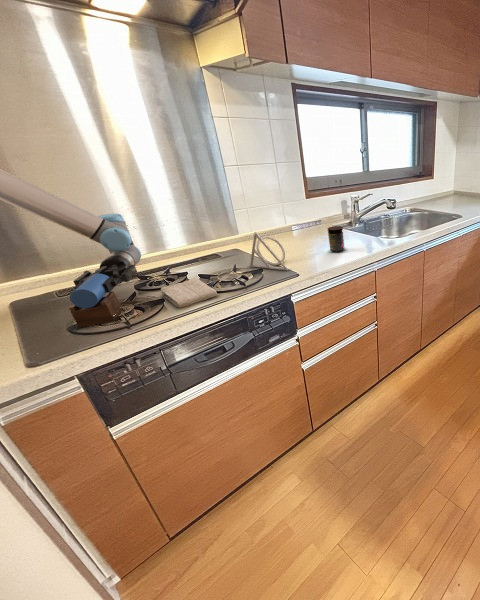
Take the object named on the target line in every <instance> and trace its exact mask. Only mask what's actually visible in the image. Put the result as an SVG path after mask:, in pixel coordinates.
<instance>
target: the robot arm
mask: <svg viewBox="0 0 480 600" xmlns="http://www.w3.org/2000/svg"><path fill="white" fill-rule="evenodd" d="M0 201H2V202H4V203H6V204H8V205H12V206H13V207H15V208H18V209H21V210H23V211H25V212H27V213H29V214H32V215H33V216H37V217H39V218H41V219H43V220H46V221H48V222H50V223H52V224H55V225H57V226H60V227H62V228H64V229H66V230H69V231H71V232H73V233H75V234H78V235H80V236H82V237H85V238H87V239H89V240H91V241H93V242H96V243H98V244H100V245H102V246H103V247H104V248H105V249H106V250H108V252H109V255H108V256H107V257H106V258H104V260H102V261H101V263H99V268H97V269H95V271H90V270H84V271H83V273H82V274H81V275H79V276H78V277H77V278H75V279H74V280H73V281H72V282H73V284H74V286H75V287H74V291H75V290H76V289H77V288H78V287H79V286H80V285H81V284H82V283H84V282H85V281H86V280H87V279H88V278H89V277H90V276H92V275H94V274H104V275H107V276H108V277H109V278H108V279H107V280H106V281H105V282H104V283H103V286H104V288H105V291H106V294H109V292H112V291H113V289H115V287H117V286H118V285H120V284H122V283H123V282H124V283H128V282H130V281H131V279H132V277H133V276H134V275H135V274H137V273H138V270H137V268H136V265H137V264H139V263H140V260H141V258H142V251H141V250H140V248H138V247H137V246H135V244H134V242H133V239H132V236H131V234H130V231H129V228H128V226H127V223H126V221H125V219H124V216H123V215H122V214H121V213H105V214H100V215H96V214H94V213H92V212H90V211H89V210H86V209H84V208H82V207H80V206H78V205H76V204H73V202H69V200H65V199H64V198H61V197H59V196H57V195H55V194H53V193H51V192H50V191H47V190H45V189H43V188H41V187H39V186H37V185H34V184H33V183H30V182H29V181H26V180H25V179H22V178H20V177H18V176H16V175H14V174H12V173H10V172H7V171H6V170H4V169H2V168H0Z"/></svg>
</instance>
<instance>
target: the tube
mask: <svg viewBox="0 0 480 600" xmlns="http://www.w3.org/2000/svg"><path fill="white" fill-rule="evenodd" d="M108 278H109V277H108V276H107V275H104V274H94V275H92V276H90V277H89V278H88V279H87V280H86V281H85V282H84V283H82V284H81V285H80V286H79V287H78V288H77V289H76V290H75V289H74V290H73V291H72V292H71V293H70V295H69V300H70V302H71V303H72V304H74V305H75V306H77V307H80V308H91V307H93V306H95V305H96V304H97V303H98V302H99V300H100V299H101V298H102V297H105V296H106V294H107V293H106V291H105V288H104V286H103V283H104V282H105V281H106V280H107V279H108Z"/></svg>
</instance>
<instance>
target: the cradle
mask: <svg viewBox="0 0 480 600" xmlns="http://www.w3.org/2000/svg"><path fill="white" fill-rule="evenodd" d="M120 307H121V308H120ZM119 308H120V309H119ZM68 309H69V311H70V314H71V315H72V317H73V319H74V322H75V323H76V325H77V326H78V328H79V329H80V328H84V327H90V326H95V325H102V324H107V323H113V322H115V321H116V320H117V319H118V317H119V315H120V314H121V313H122V311H123V307H122V305H121V303H120V300H119V299H118V296H117V295H116V293H115V291H114V290H112V291H111V292H109V293H107V295H105V296H103V297H102V298H101V299H100V300H99V302H98V303H97V304H96V305H95V306H93V307H91V308H80V307H77V306H75V305H74V304H73V303H72V304H71V305H70V306H69V307H68ZM118 310H119V311H118ZM117 311H118V312H117ZM115 314H116V315H115ZM113 315H115V316H114V318H113Z"/></svg>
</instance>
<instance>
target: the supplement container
mask: <svg viewBox="0 0 480 600" xmlns="http://www.w3.org/2000/svg"><path fill="white" fill-rule="evenodd" d="M327 235H328V236H327V238H328V245H329V251H330V252H331V253H335V254H337V253H342V252H344V251H345V249H346V247H345V236H344V228H343V226H341V225H339V226H337V225H336V226H335V225H334V226H329V227H327Z"/></svg>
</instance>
